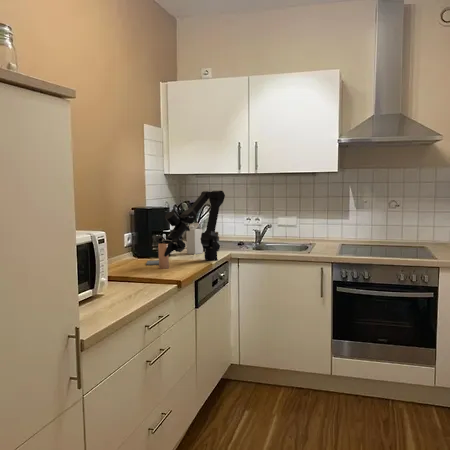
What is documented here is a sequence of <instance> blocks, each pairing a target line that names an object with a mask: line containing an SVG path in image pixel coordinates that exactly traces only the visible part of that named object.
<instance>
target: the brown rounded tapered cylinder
mask: <svg viewBox="0 0 450 450" xmlns="http://www.w3.org/2000/svg"><path fill="white" fill-rule="evenodd" d="M157 244H158V243H157ZM167 247H168V243H160V244H158V247H157V251H158V250H159V256H158V260H159V265H158V269H160V270H166V269H170V262H169V260H170V259H169V258H170V257H169V256H170V254H169V255H167V256H166V257H165V256H164V254H165V251H166V249H167Z"/></svg>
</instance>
